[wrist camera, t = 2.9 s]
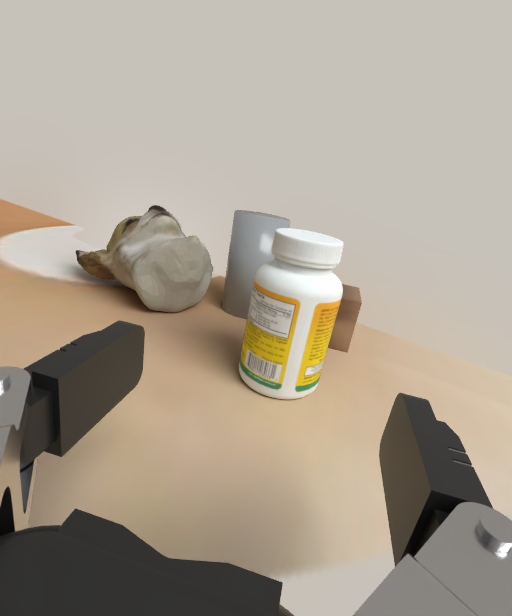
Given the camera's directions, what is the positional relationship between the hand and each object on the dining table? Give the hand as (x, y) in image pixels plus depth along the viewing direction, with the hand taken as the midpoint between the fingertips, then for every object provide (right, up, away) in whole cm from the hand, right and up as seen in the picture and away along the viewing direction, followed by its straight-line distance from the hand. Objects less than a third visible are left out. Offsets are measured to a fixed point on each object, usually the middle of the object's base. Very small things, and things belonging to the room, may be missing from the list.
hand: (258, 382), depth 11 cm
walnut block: (+6, 0, +21) cm, 21 cm away
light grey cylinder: (-1, +2, +24) cm, 24 cm away
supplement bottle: (+1, -3, +13) cm, 13 cm away
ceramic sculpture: (-11, +4, +24) cm, 26 cm away
